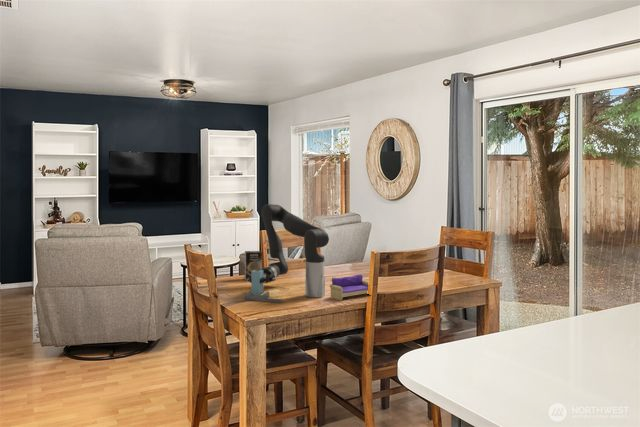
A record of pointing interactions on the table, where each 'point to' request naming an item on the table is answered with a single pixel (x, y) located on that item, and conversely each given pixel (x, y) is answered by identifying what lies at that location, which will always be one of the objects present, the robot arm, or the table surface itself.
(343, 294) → the toy sofa
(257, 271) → the block
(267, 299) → the rail bay
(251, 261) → the coffee box
